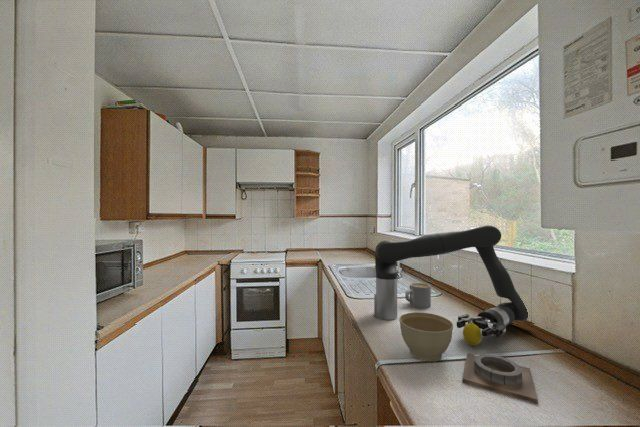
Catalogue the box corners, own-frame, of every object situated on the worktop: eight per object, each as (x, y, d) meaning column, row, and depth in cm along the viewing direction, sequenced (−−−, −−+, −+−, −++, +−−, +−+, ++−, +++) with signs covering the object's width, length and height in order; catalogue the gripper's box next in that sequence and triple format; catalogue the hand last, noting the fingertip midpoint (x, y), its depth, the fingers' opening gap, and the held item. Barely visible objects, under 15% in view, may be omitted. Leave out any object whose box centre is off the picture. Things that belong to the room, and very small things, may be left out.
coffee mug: (424, 301, 144) (424, 282, 145) (434, 307, 135) (434, 287, 135) (399, 302, 142) (399, 283, 143) (408, 309, 133) (408, 288, 133)
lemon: (484, 350, 92) (483, 326, 92) (465, 349, 93) (465, 325, 93) (478, 343, 97) (477, 320, 97) (460, 341, 98) (460, 319, 98)
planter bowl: (389, 347, 94) (389, 315, 94) (427, 340, 100) (427, 309, 100) (422, 372, 79) (422, 334, 79) (465, 362, 85) (465, 326, 85)
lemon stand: (462, 382, 74) (462, 369, 74) (466, 356, 88) (466, 345, 88) (537, 403, 66) (537, 388, 66) (529, 371, 80) (529, 359, 80)
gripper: (473, 304, 109) (450, 312, 101) (515, 315, 98) (492, 325, 89) (473, 323, 109) (450, 332, 100) (515, 336, 98) (492, 348, 89)
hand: (470, 329), depth 95 cm, fingers open, 8 cm apart
